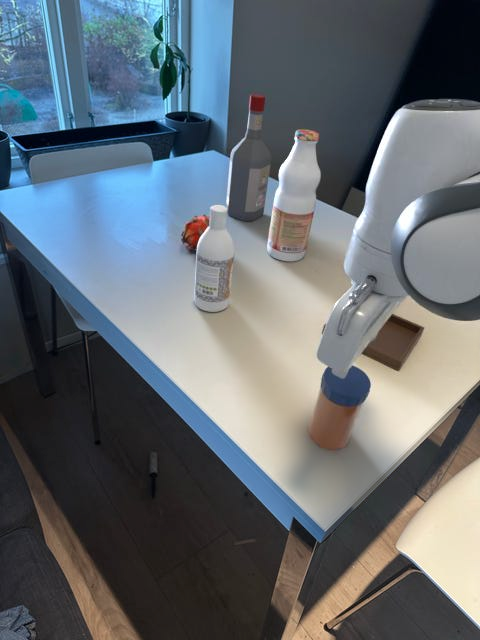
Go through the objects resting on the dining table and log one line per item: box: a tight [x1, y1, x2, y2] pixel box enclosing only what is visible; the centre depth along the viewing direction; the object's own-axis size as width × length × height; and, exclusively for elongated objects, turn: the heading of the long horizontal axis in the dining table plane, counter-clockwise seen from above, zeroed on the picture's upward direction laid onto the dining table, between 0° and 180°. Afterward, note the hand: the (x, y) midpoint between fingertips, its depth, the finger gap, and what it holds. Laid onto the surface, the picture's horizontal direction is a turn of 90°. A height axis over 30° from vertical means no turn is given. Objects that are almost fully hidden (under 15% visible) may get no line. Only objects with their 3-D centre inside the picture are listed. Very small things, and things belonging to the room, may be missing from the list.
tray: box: [321, 313, 425, 372], centre depth 85 cm, size 15×13×2 cm
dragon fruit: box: [180, 213, 210, 251], centre depth 104 cm, size 8×8×12 cm
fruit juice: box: [266, 129, 322, 262], centre depth 100 cm, size 9×9×28 cm
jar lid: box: [319, 364, 372, 407], centre depth 59 cm, size 6×6×2 cm
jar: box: [307, 386, 364, 451], centre depth 62 cm, size 6×6×11 cm
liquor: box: [225, 93, 272, 222], centre depth 115 cm, size 9×9×30 cm
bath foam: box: [193, 204, 235, 313], centre depth 83 cm, size 7×7×20 cm
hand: (354, 355), depth 57 cm, fingers open, 7 cm apart
